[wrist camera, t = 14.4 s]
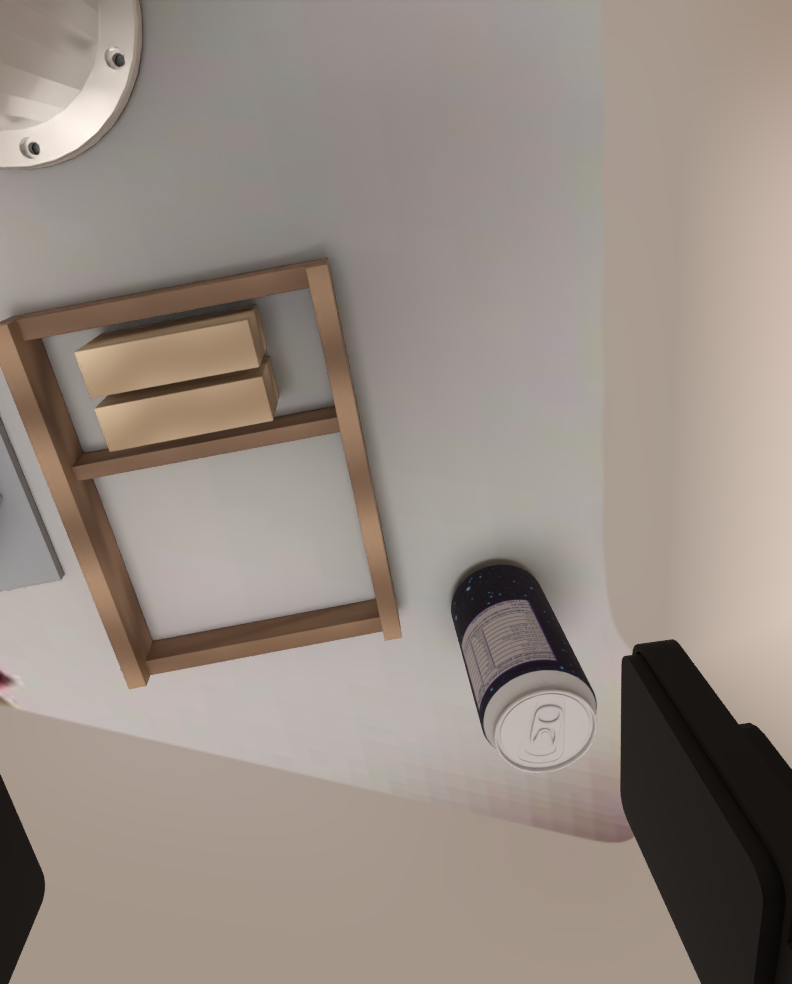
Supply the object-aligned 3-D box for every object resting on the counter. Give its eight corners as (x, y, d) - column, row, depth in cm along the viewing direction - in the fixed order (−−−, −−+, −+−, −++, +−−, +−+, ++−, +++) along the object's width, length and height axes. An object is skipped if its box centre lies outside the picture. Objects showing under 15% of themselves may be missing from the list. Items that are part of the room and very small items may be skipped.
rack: (11, 316, 36) (-15, 328, 34) (327, 258, 36) (327, 264, 34) (141, 657, 45) (129, 689, 42) (397, 609, 45) (401, 637, 42)
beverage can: (443, 634, 46) (478, 778, 35) (455, 555, 44) (496, 682, 33) (531, 638, 46) (592, 780, 36) (547, 559, 44) (617, 686, 33)
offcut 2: (119, 384, 38) (94, 408, 34) (269, 355, 38) (261, 376, 34) (132, 423, 39) (109, 451, 35) (279, 395, 39) (273, 420, 35)
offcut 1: (102, 333, 37) (74, 352, 33) (256, 304, 37) (247, 319, 33) (116, 374, 38) (90, 398, 34) (267, 346, 38) (259, 367, 34)
